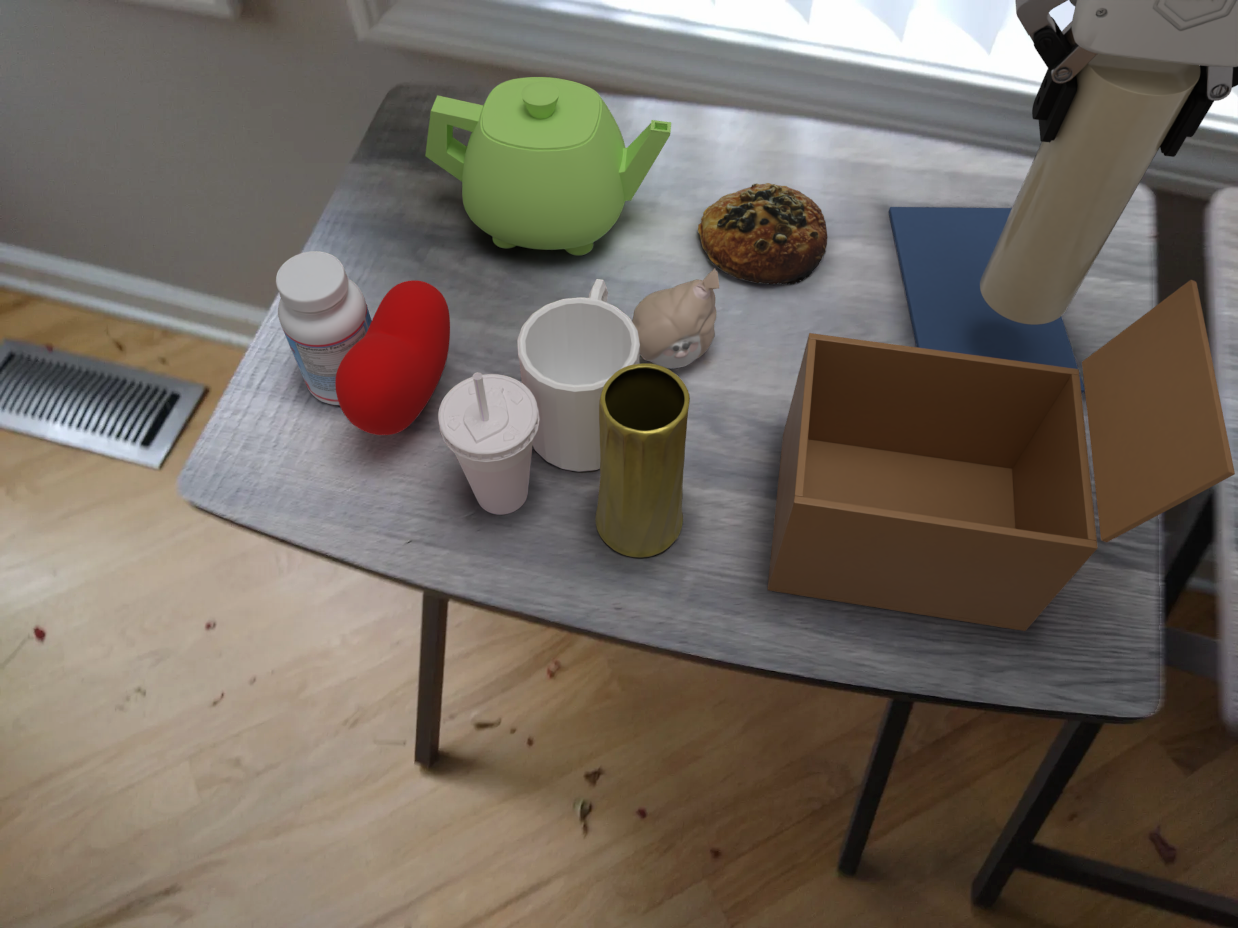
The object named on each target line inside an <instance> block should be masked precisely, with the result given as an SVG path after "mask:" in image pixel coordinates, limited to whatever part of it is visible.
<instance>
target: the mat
mask: <svg viewBox="0 0 1238 928" xmlns="http://www.w3.org/2000/svg"><path fill="white" fill-rule="evenodd" d="M1011 209H1012V207H961V206H960V207H957V206H956V207H953V206H952V207H949V206H948V207H946V206H945V207H944V206H942V207H941V206H890V207H889V209H888V215H889V221H890V226H891V230H892V236H893V239H894V244H895V249H896V254H897V259H898V265H899V269H900V273H901V278H902V279H901V280H902V284H903V288H904V293H905V297H906V298H905V299H906V302H907V308H908V313H909V317H910V322H911V327H912V331H913V332H912V333H913V337H914V341H915V347H918V348H925V349H932V350H940V351H947V352H955V353H962V354H970V355H977V356H984V357H992V358H999V359H1007V360H1014V361H1021V362H1029V363H1036V364H1044V365H1051V366H1058V367H1066V368H1073V369H1079V367H1078V363H1077V361H1076V358H1075V354H1074V351H1073V347H1072V345H1071V342H1070V338H1069V335H1068V331H1067V329H1066V326H1065V322H1064V319H1063V315H1062V316H1061V317H1059V318H1058V319H1056V320H1054V321H1052V322H1049V323H1045V324H1038V325H1031V324H1023V323H1018V322H1015V321H1012V320H1010V319H1007V318H1005V317H1003V316H1002V315H1000V314H998V313H997V312H996V311H994V310H993V309H992V308H991V307H990V306H989V305H988V304H987V302H986V301H985V300H984V298H983V296H982V294H981V290H980V279H981V276H982V274H983V272H984V269H985V267H986V265H987V263H988V260H989V258H990V256H991V254H992V252H993V249H994V247H995V245H996V243H997V240H998V238H999V236H1000V234H1001V231H1002V229H1003V227H1004V225H1005V222H1006V220H1007V218H1008V216H1009V214H1010V211H1011ZM1079 376H1080V385H1081V394H1082V395H1083V394H1084V393H1085V387H1084V381H1083V380H1082V379H1083V378H1082V376H1081V373H1080V372H1079Z"/></svg>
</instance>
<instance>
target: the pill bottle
mask: <svg viewBox="0 0 1238 928" xmlns="http://www.w3.org/2000/svg"><path fill="white" fill-rule="evenodd" d="M275 285H276V288H277V290H278V293H279V294H278V295H279V297H280V299H279V302H278V306H277V318H278V320H279V324H280V326H281V328H282V331H283V333H284V335H285V336H284V337H285V339H286V341H287V343H288V345H289V348H290V349H291V350H290V351H291V352H292V355H293V358H294V359H295V362H296V365H297V368H298V369H299V371H300V375H301V377H302V379H303V380H304V381H303V382H304V384H305V385H306V387H307V389H308V391H309V393H310V394H311V395H312V396H313V397H314V398H315V399H317V400H319V401H320V402H322V403H325V404H328V405H332V406H333V405H334V406H340V405H339V402H338V399H337V394H336V386H335V380H336V373H337V370H338V367H339V365H340V363H341V361H342V360H343V358H344V356H345V355H346V354H347V353H348V351H349V350H350V349H351V348H352V347H353V346H354V345H355V344H356V343H357V342H359V341H360V340H361V339H362V338H364V336H365V335H366V333H367V331H368V329H369V326H370V324H371V322H372V316H371V314H370V310H369V307H368V305H367V301H366V298H365V296H364V293H363V292H362V290H361V288H360V287H359V285H358V284H356V283H355V282H354V281H353V280H351V278H349V277H348V275H347V273H346V269H345V267H344V265H343V263H342V262H341V260H339V258H338V257H337V256H335V255H333V254H331V253H328V252H325V251H320V250H311V251H304V252H300V253H298V254H295V255H293V256H292V257H289V258H288V259H287V260H286V261H284V262H283V264H282V265H280V267H279V268H278V271H277V273H276V277H275Z"/></svg>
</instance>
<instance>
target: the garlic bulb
mask: <svg viewBox="0 0 1238 928" xmlns="http://www.w3.org/2000/svg"><path fill="white" fill-rule="evenodd" d="M718 289H720V281H719V272H718V270H716V268H713V269H712V270H711V271H709V273H707V275H706V276H705V277H704V278H703V279H700V278H699V279H693V280H690V281H685V282H683V283H679V284H676V285H675V286H674V287H670V288H664V289H660V290H656V291H653V292H651V293H649V294H647V295H646V296H645V297H643V299H642V300H641V301H639V303H638V304H637V305H636V306H635V308H634V310H633V315H632V319H631V321H632V322H633V324H634V326H635V327H636V329H637V331H638V337H639V343H640V355H639V356H640V357H641V358H642V359H643V360H645V361H646V362H647V361H648V362H649V363H651V364H655V365H659V366H663V367H665V368H667V369H679V368H683V367H686V366H688V365H690V364H692V363H693V362H695V361H696V359H698V358H700V357H701V356H703V355H705V353H706V352H707V351H708V349H709V348H710V347H711V345H712V343H713V340H714V338H715V335H716V330H715V323H716V320H717V307H716V294H715V291H714V290H718Z"/></svg>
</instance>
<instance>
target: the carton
mask: <svg viewBox="0 0 1238 928" xmlns="http://www.w3.org/2000/svg"><path fill="white" fill-rule="evenodd" d="M800 363H801V364H800V367H799V371H798V375H797V378H796V382H795V387H794V390H793V394H792V398H791V402H790V405H789V409H788V413H787V418H786V421H785V425H784V429H783V432H782V440H781V451H780V461H779V470H778V479H777V489H776V490H777V491H776V499H775V510H774V519H773V530H772V538H771V539H772V540H771V541H772V542H771V549H770V559H769V560H770V561H769V570H768V580H767V591H768V592H777V593H783V594H787V595H788V594H789V595H794V596H801V597H807V598H815V599H819V600H826V601H833V602H840V603H846V604H853V605H858V606H864V607H869V608H870V607H871V608H875V609H876V608H878V609H884V610H890V611H896V612H902V613H909V614H914V615H915V614H916V615H921V616H927V617H932V618H933V617H934V618H940V619H946V620H953V621H959V622H965V623H972V624H978V625H983V626H990V627H998V628H1003V629H1009V630H1015V631H1022V632H1026V631H1028V629H1029V628H1030V627H1031V625H1033V623H1034V622H1035V621H1036V620H1037V619H1038V617H1039V616H1040V615H1041V614H1042V613H1043V612H1044V610H1045V609H1046V608H1047V607H1048V606H1049V605H1050V603H1052V601H1054V599H1055V598H1056V597H1057V596H1058V594H1059V593H1060V592H1061V591H1062V590H1063V589H1064V588H1065V587H1066V585H1067V584H1068V583H1069V582H1070V581H1071V579H1072V578H1073V577H1074V576H1075V575H1076V574H1077V572H1078V571H1079V570H1080V569H1081V568H1082V567H1083V566H1084V565H1085V563H1087V561H1088V560H1089V559H1090V558H1091V557H1092V556H1093V554H1094V553H1095V552H1096V551H1097V550H1098V549H1099V548H1098V539H1097V538H1098V537H1097V528H1096V517H1095V510H1094V509H1095V508H1094V498H1093V490H1092V481H1091V472H1090V463H1089V453H1088V441H1087V433H1086V424H1085V416H1084V415H1085V414H1084V404H1083V396H1082V395H1083V394H1081V385H1080V376H1081V375H1080V376H1079V373H1080V369H1079V368H1078V369H1073V368H1066V367H1058V366H1051V365H1044V364H1036V363H1029V362H1021V361H1014V360H1007V359H999V358H992V357H984V356H977V355H970V354H962V353H955V352H947V351H940V350H932V349H925V348H918V347H916V346H911V345H910V346H909V345H903V344H894V343H887V342H881V341H874V340H873V341H872V340H864V339H859V338H858V339H857V338H850V337H844V336H834V335H828V334H827V335H826V334H821V333H814V332H813V333H812V332H809V333H808V336H807V338H806V343H805V347H804V350H803V355H802V359H801V362H800Z"/></svg>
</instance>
